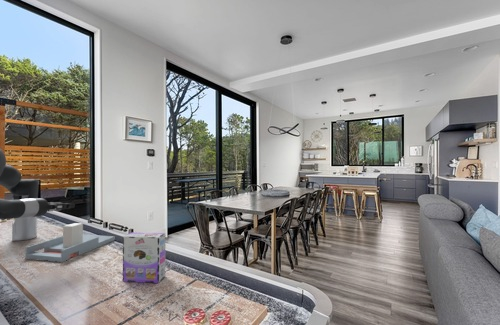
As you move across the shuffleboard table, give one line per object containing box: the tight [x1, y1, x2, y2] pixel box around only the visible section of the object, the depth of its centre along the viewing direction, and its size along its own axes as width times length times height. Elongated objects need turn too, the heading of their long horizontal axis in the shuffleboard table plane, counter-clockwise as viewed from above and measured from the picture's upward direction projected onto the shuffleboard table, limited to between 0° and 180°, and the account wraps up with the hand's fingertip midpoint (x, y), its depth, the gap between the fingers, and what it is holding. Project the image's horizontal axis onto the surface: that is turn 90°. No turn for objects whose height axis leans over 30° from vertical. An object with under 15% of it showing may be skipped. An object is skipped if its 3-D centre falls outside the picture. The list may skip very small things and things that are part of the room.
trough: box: [24, 233, 116, 263], centre depth 117 cm, size 30×20×5 cm, turn 170°
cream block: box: [62, 222, 84, 247], centre depth 116 cm, size 6×5×10 cm
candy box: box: [122, 231, 166, 284], centre depth 87 cm, size 14×6×16 cm, turn 84°
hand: (65, 205), depth 110 cm, fingers open, 8 cm apart
